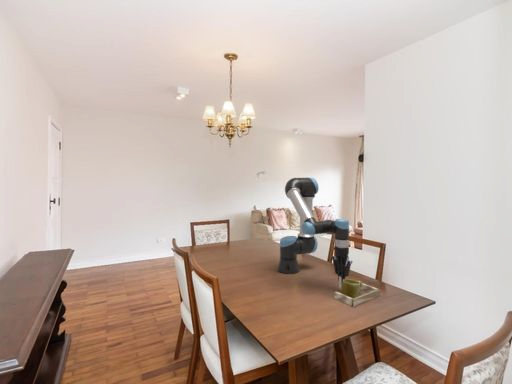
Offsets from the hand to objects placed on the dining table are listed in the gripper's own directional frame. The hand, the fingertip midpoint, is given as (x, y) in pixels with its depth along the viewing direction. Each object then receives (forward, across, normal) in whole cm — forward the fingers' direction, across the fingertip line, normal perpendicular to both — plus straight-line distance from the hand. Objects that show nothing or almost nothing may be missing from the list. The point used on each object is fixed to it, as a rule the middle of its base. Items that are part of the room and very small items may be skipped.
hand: (341, 287), depth 159 cm
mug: (+2, +8, 0) cm, 8 cm away
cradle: (+2, +10, 0) cm, 11 cm away
